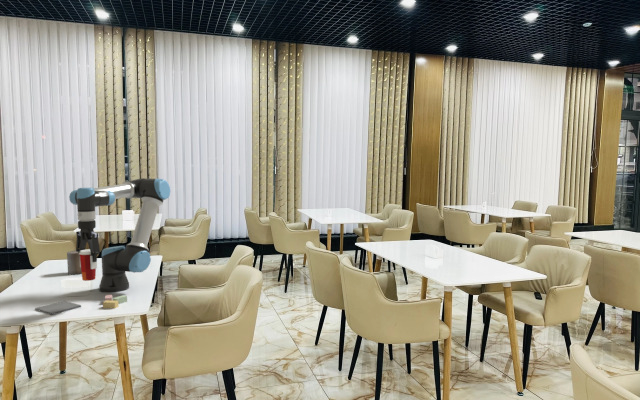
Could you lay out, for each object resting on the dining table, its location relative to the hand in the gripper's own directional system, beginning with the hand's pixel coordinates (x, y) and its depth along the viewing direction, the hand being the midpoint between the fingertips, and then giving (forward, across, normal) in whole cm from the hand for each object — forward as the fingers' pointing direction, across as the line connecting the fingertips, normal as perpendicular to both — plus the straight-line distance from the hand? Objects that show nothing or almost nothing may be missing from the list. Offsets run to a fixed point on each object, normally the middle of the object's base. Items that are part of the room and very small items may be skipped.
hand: (88, 267), depth 225 cm
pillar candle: (+19, -72, +38) cm, 83 cm away
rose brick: (+19, +1, +10) cm, 22 cm away
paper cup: (+6, 0, 0) cm, 6 cm away
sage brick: (+19, +6, +12) cm, 24 cm away
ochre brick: (+19, +9, +5) cm, 22 cm away
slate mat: (+19, -10, -9) cm, 24 cm away
